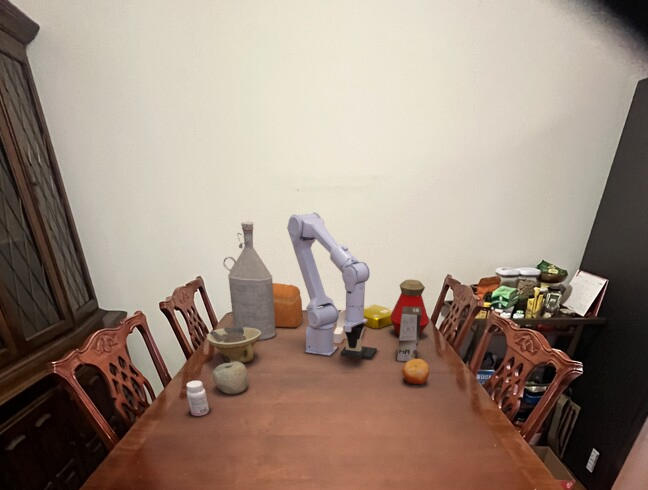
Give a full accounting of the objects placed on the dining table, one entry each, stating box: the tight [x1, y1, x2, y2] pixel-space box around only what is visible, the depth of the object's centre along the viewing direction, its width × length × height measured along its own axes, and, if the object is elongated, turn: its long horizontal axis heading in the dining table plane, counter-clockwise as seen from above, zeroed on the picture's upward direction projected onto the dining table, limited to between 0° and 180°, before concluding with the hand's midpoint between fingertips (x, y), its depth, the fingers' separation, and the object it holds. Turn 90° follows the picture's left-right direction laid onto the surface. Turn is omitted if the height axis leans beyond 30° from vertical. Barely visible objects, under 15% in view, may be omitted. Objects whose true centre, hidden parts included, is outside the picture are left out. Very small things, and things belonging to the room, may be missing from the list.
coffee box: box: [396, 306, 422, 362], centre depth 139 cm, size 9×6×16 cm
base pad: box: [361, 345, 378, 360], centre depth 146 cm, size 10×8×1 cm
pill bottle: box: [186, 380, 210, 417], centre depth 109 cm, size 5×5×8 cm
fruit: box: [401, 358, 430, 385], centre depth 126 cm, size 8×8×8 cm
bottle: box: [390, 279, 430, 337], centre depth 157 cm, size 16×14×20 cm
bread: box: [273, 282, 303, 328], centre depth 170 cm, size 14×26×16 cm, turn 79°
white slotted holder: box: [334, 306, 365, 344], centre depth 158 cm, size 10×18×11 cm, turn 169°
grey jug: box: [222, 220, 277, 341], centre depth 151 cm, size 13×17×40 cm
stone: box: [211, 362, 249, 395], centre depth 121 cm, size 10×10×10 cm
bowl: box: [206, 326, 261, 364], centre depth 139 cm, size 18×18×10 cm
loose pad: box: [339, 338, 368, 359], centre depth 137 cm, size 7×9×5 cm
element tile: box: [364, 304, 393, 330], centre depth 174 cm, size 15×15×5 cm
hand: (353, 346), depth 136 cm, fingers closed on loose pad
